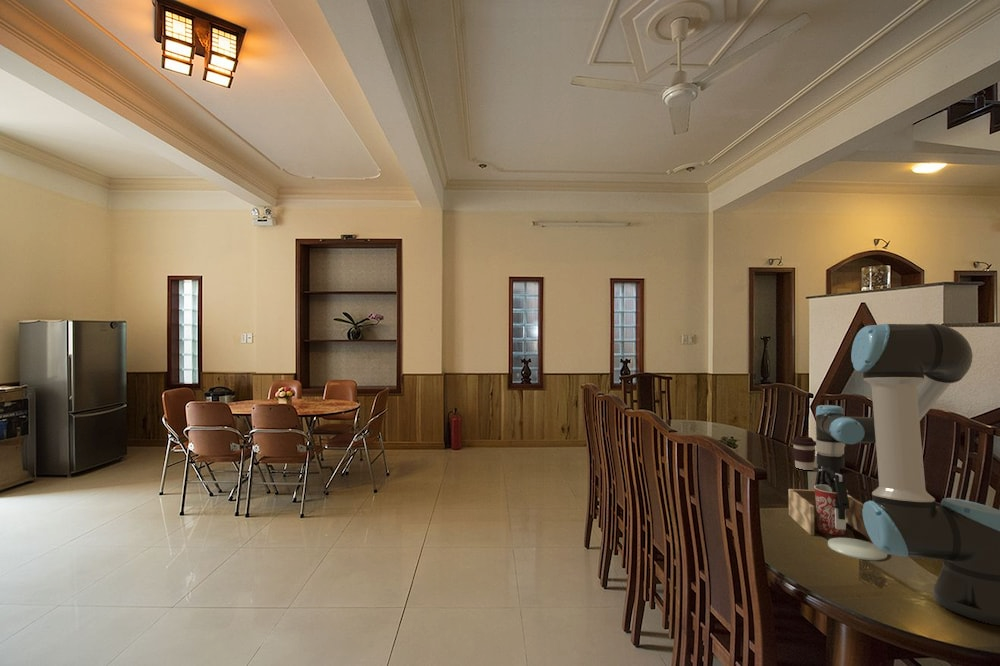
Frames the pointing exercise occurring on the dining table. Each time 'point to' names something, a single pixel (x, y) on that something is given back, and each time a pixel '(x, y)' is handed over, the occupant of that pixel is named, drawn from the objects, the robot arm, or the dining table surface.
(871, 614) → the dining table surface
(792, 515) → the crate
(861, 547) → the disc
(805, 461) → the coffee cup
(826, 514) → the mug
